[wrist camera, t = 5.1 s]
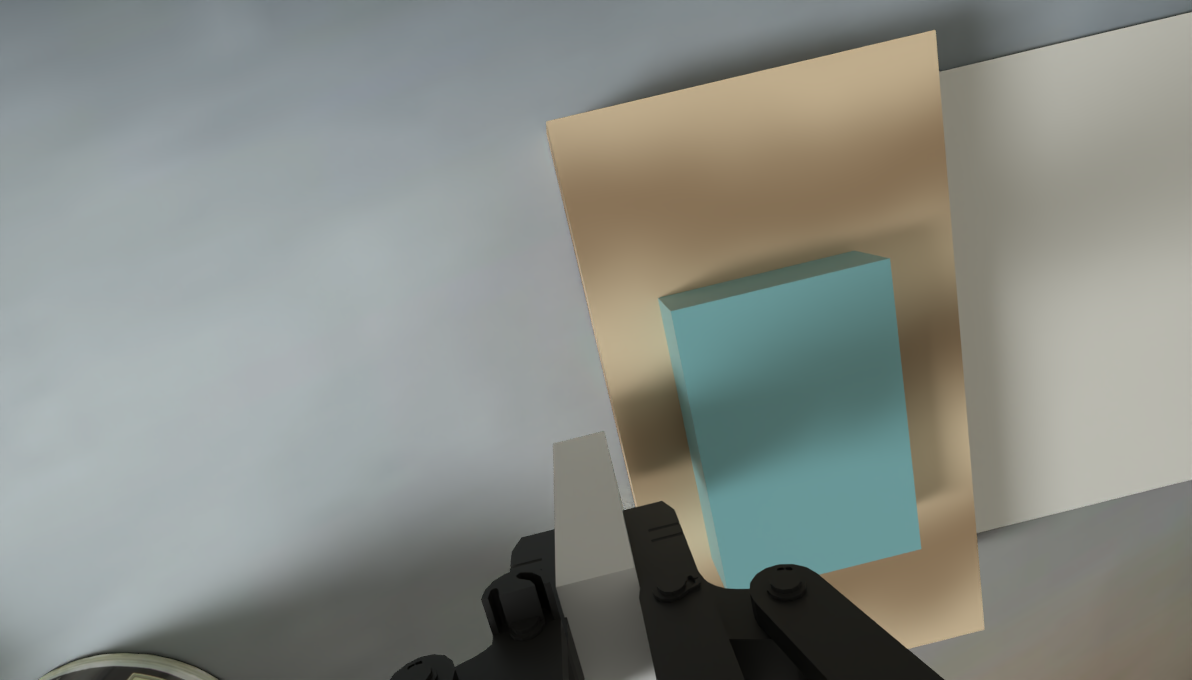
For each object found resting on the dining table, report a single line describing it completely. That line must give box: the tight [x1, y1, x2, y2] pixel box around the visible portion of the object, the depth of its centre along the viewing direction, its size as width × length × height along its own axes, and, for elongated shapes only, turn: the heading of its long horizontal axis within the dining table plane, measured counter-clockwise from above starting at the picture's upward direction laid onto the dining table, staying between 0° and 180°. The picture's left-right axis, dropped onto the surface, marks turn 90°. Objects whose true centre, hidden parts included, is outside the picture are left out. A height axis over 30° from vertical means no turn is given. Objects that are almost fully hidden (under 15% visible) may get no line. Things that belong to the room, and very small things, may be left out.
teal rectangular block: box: [658, 251, 921, 589], centre depth 19 cm, size 9×6×2 cm, turn 13°
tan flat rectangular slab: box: [546, 30, 984, 649], centre depth 22 cm, size 20×11×4 cm, turn 13°
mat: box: [939, 12, 1192, 533], centre depth 24 cm, size 18×12×1 cm, turn 13°
